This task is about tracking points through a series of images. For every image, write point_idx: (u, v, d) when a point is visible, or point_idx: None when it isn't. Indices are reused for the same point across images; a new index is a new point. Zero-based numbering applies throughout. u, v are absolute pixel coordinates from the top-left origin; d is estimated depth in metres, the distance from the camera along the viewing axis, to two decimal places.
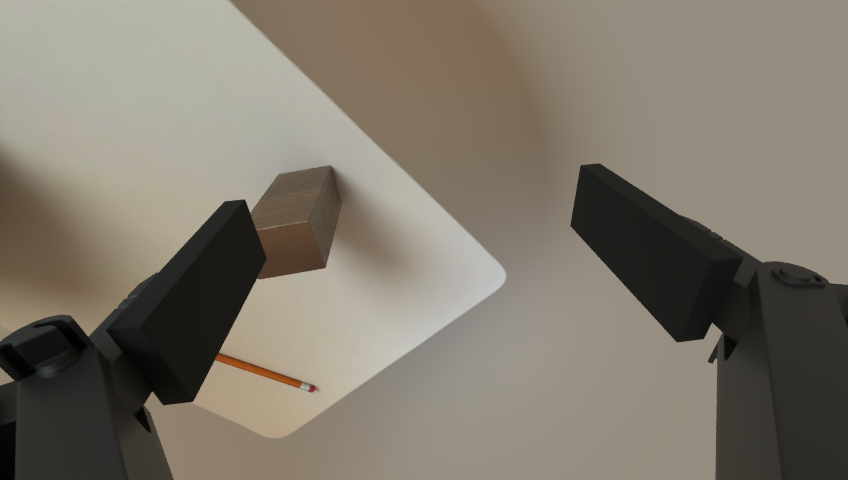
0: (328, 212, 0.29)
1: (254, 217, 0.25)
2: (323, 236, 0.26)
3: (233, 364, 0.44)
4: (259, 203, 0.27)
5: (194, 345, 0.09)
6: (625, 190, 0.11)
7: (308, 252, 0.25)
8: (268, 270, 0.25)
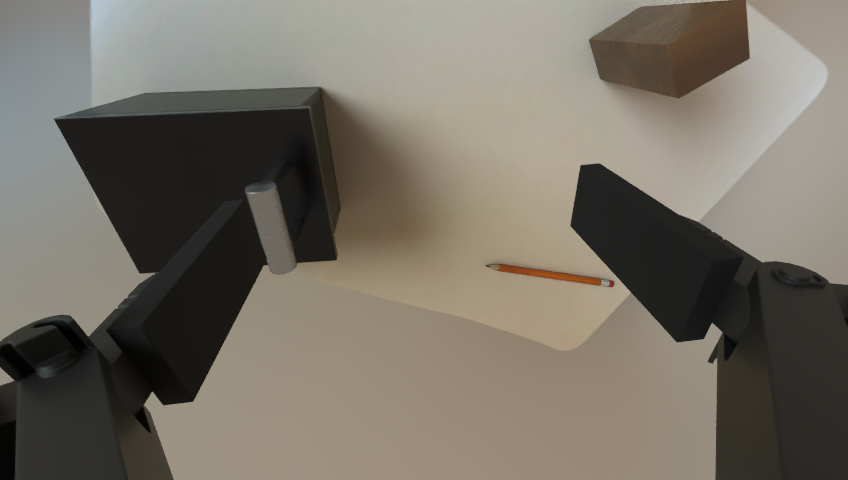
0: None
1: (658, 38, 0.25)
2: None
3: (541, 274, 0.46)
4: (631, 40, 0.27)
5: (194, 345, 0.09)
6: (625, 190, 0.11)
7: (736, 42, 0.24)
8: (691, 82, 0.25)
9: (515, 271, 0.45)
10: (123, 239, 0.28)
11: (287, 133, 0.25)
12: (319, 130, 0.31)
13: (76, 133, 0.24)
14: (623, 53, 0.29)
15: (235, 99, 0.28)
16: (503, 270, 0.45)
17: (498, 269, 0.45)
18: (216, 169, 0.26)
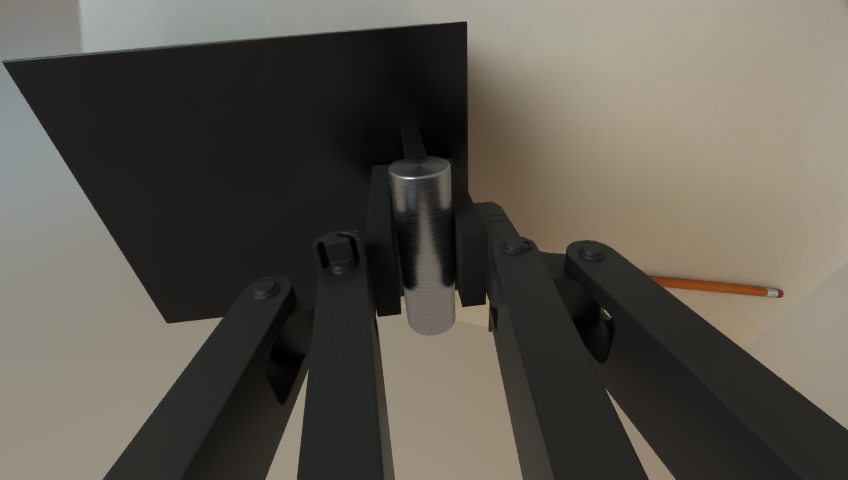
0: None
1: None
2: None
3: (692, 286, 0.34)
4: None
5: (397, 270, 0.11)
6: None
7: None
8: None
9: (659, 283, 0.34)
10: (139, 273, 0.17)
11: (422, 74, 0.14)
12: None
13: (46, 89, 0.13)
14: None
15: None
16: None
17: None
18: (293, 147, 0.15)
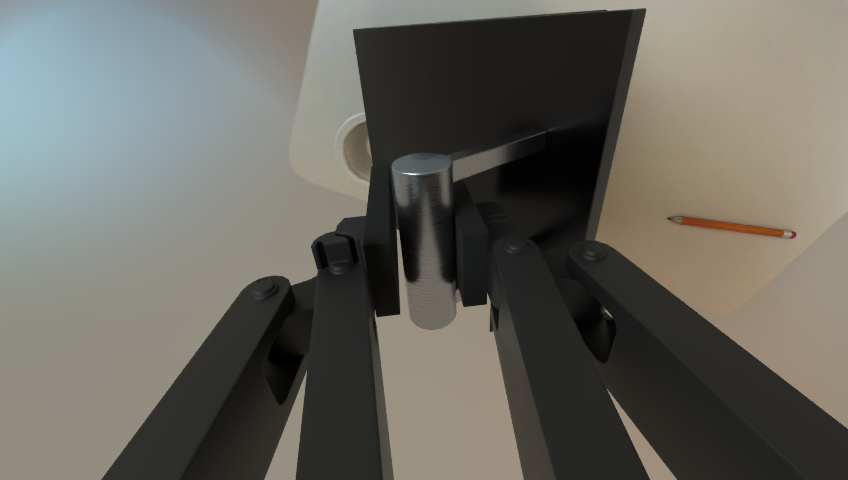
0: None
1: None
2: None
3: (724, 226, 0.43)
4: None
5: (396, 271, 0.11)
6: None
7: None
8: None
9: (698, 223, 0.42)
10: None
11: (564, 73, 0.11)
12: None
13: (362, 49, 0.21)
14: None
15: None
16: (686, 222, 0.42)
17: (681, 222, 0.42)
18: (453, 120, 0.17)
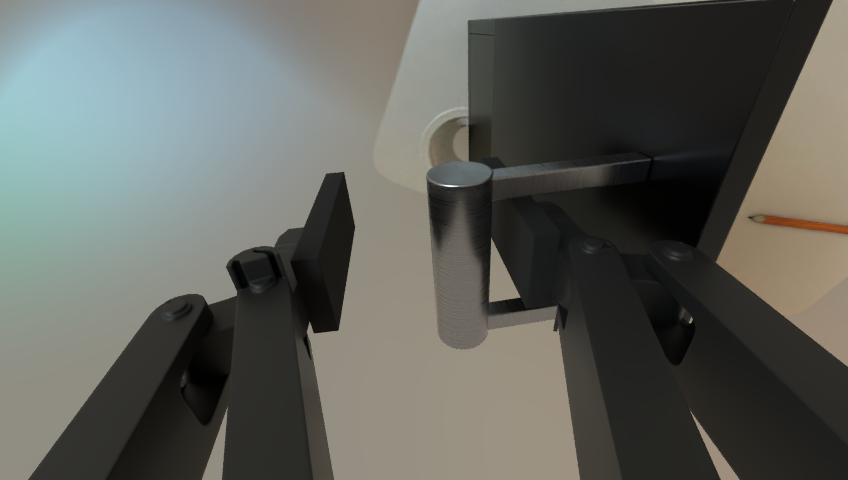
0: None
1: None
2: None
3: (806, 224, 0.42)
4: None
5: (335, 285, 0.11)
6: None
7: None
8: None
9: (780, 222, 0.41)
10: None
11: (684, 85, 0.08)
12: None
13: (499, 40, 0.20)
14: None
15: (625, 7, 0.24)
16: (768, 221, 0.41)
17: (763, 220, 0.41)
18: (560, 128, 0.14)
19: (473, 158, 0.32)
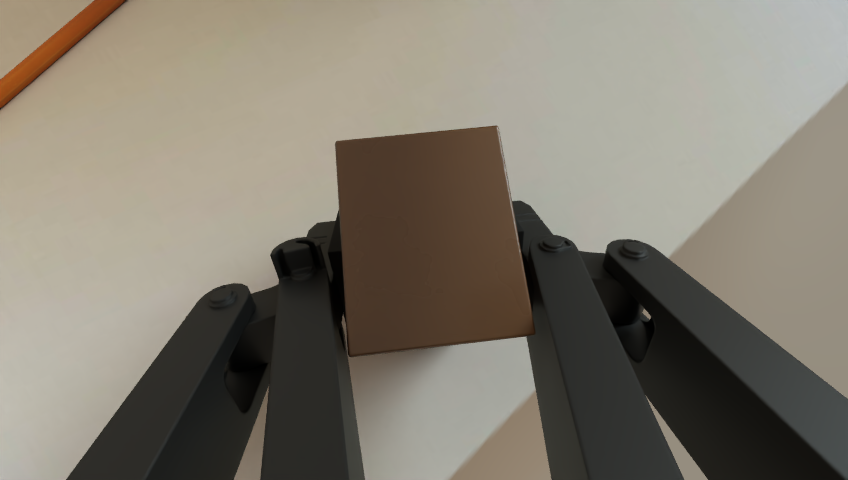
0: None
1: None
2: None
3: (44, 47, 0.21)
4: None
5: None
6: None
7: (419, 310, 0.07)
8: (364, 176, 0.08)
9: (91, 6, 0.22)
10: None
11: None
12: None
13: None
14: None
15: None
16: None
17: None
18: None
19: None
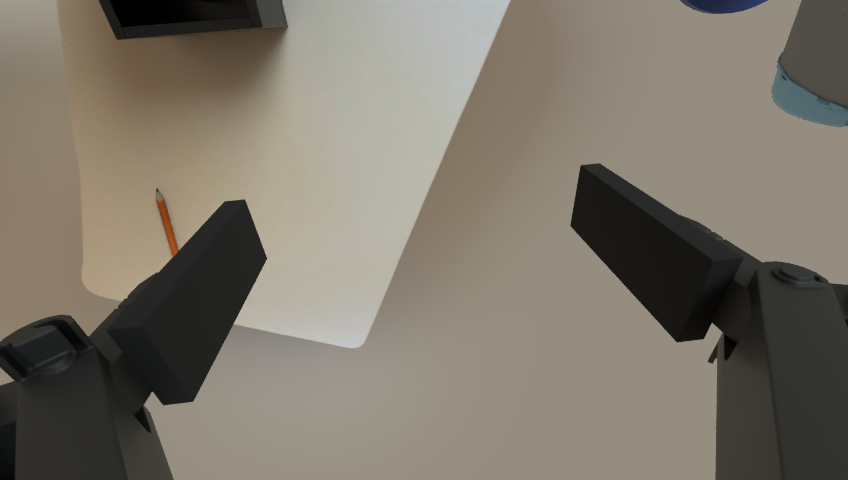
0: None
1: None
2: None
3: (170, 238, 0.51)
4: None
5: (194, 345, 0.09)
6: (625, 190, 0.11)
7: None
8: None
9: (163, 216, 0.49)
10: None
11: None
12: None
13: None
14: None
15: None
16: (159, 205, 0.48)
17: (158, 201, 0.48)
18: None
19: None
